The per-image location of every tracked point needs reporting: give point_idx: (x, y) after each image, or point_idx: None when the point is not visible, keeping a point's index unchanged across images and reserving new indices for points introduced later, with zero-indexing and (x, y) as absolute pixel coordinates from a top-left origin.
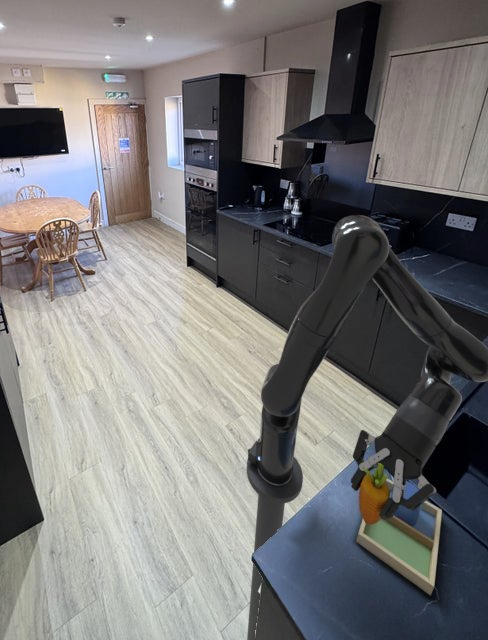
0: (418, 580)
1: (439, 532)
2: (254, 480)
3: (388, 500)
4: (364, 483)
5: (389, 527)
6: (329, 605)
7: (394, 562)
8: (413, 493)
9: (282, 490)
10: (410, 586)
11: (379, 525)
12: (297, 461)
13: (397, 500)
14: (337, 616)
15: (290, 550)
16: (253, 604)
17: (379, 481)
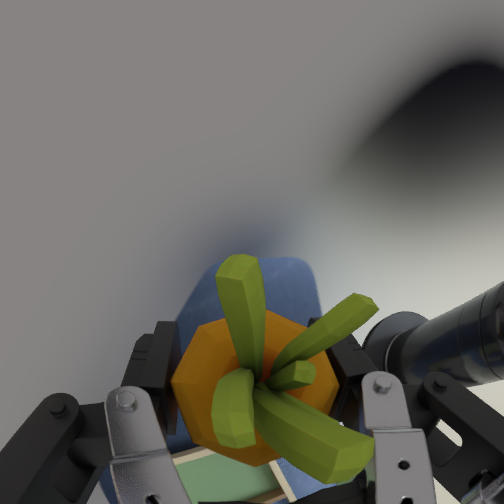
0: None
1: None
2: (404, 316)
3: (161, 373)
4: (303, 329)
5: (241, 494)
6: (216, 310)
7: (195, 450)
8: None
9: (378, 354)
10: (167, 447)
11: (252, 481)
12: None
13: (116, 396)
14: (201, 311)
15: (298, 307)
16: None
17: (251, 381)
